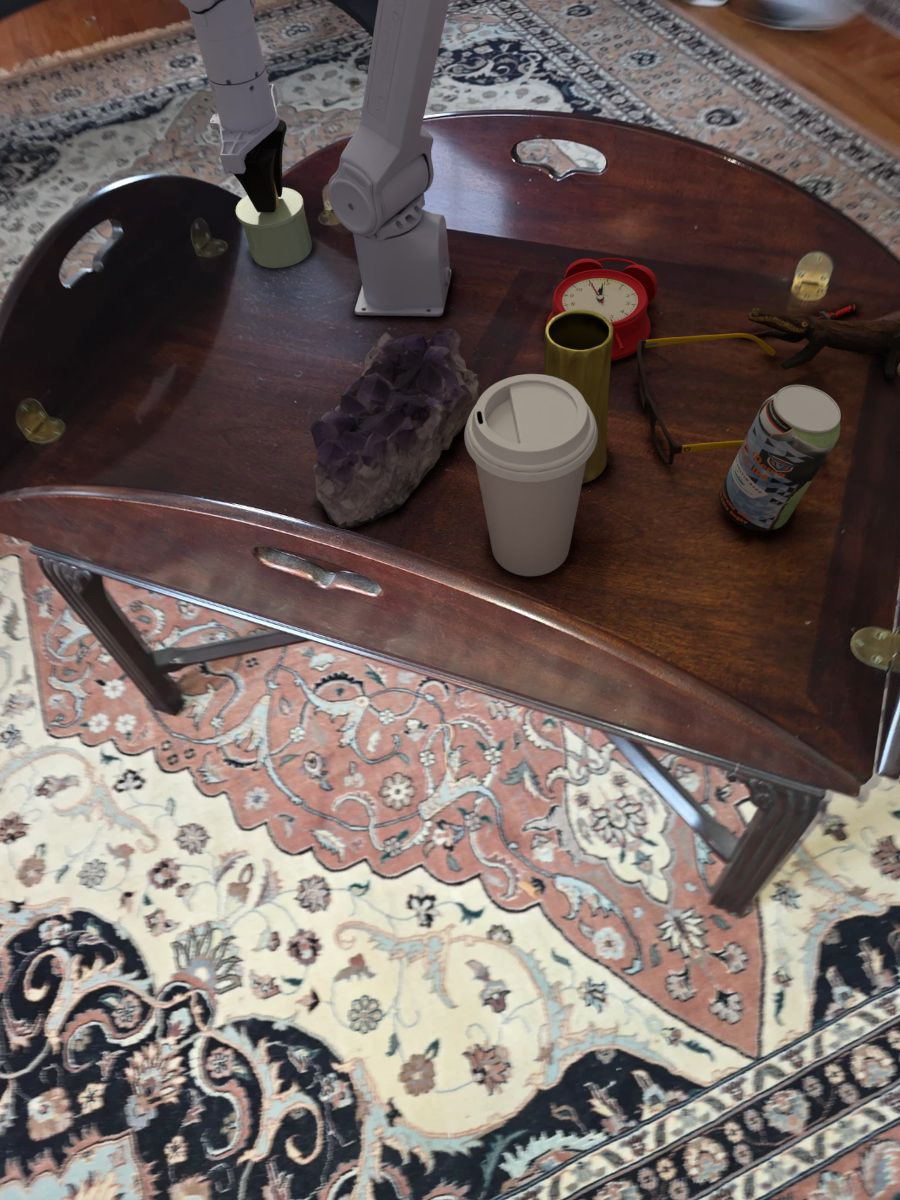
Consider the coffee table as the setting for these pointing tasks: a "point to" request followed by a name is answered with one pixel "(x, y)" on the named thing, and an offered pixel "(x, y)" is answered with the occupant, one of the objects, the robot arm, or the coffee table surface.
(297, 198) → the lid
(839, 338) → the toy
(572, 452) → the coffee cup
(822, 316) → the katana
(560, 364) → the vase
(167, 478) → the coffee table surface
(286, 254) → the tin
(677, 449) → the eyeglasses
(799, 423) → the beverage can
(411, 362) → the geode
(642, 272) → the alarm clock
